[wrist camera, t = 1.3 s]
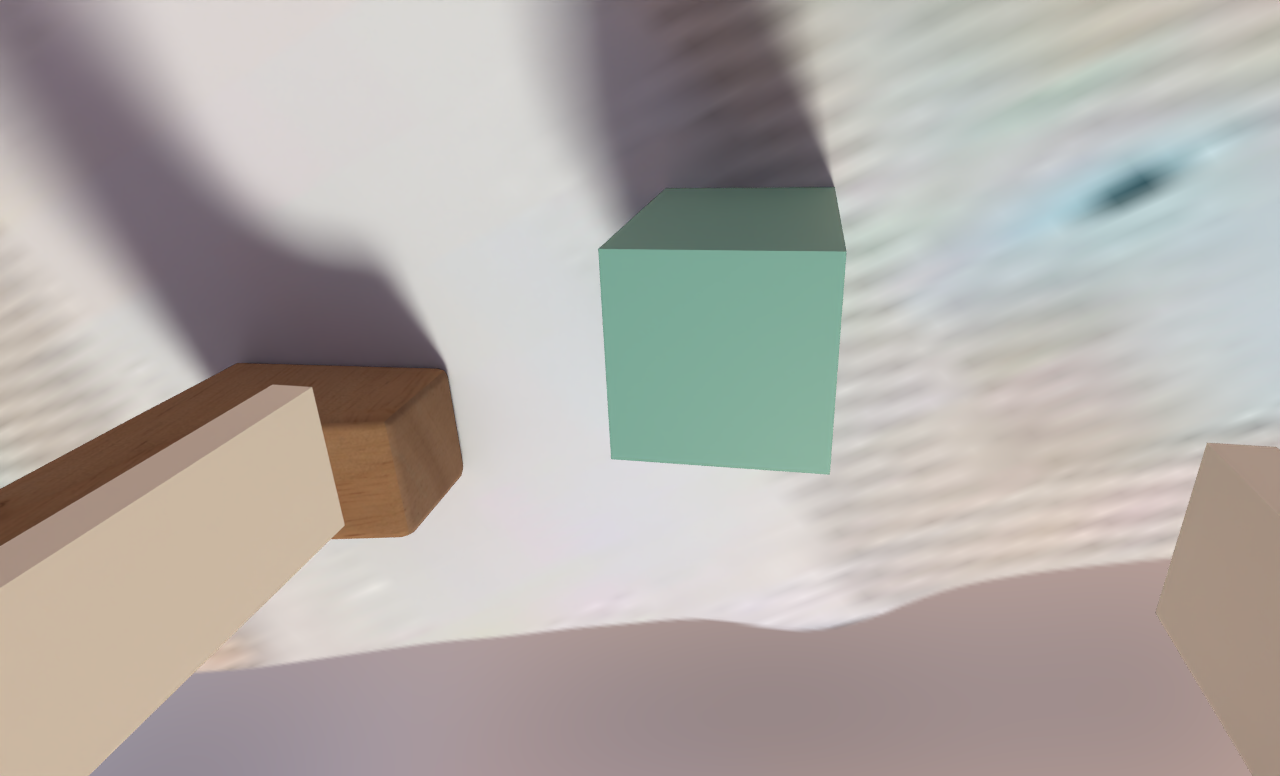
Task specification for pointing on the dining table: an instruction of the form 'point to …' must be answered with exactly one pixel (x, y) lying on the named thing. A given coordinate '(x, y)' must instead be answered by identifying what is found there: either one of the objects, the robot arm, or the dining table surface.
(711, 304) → the teal block
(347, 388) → the wooden block
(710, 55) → the dining table surface
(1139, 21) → the dining table surface
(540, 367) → the dining table surface
